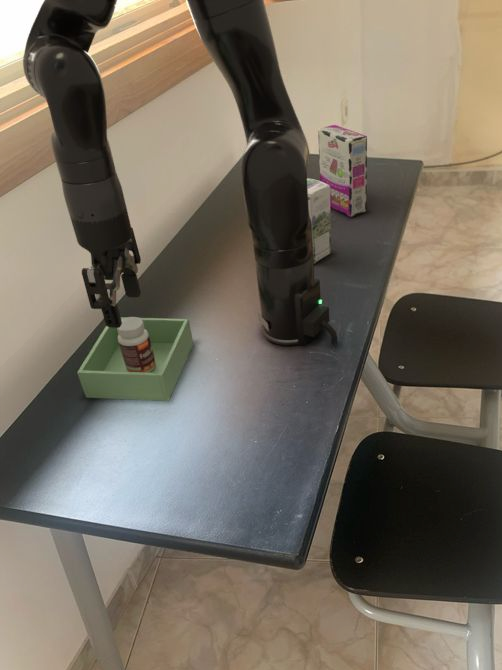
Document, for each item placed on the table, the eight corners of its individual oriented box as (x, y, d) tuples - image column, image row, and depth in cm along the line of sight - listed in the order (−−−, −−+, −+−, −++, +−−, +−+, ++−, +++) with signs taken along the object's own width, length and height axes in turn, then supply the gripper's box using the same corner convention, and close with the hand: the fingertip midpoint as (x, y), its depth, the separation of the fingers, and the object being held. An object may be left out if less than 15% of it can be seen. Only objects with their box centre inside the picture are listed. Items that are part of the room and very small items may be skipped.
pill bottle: (149, 377, 104) (137, 333, 99) (122, 375, 105) (108, 330, 100) (161, 359, 108) (150, 316, 102) (133, 357, 109) (121, 314, 103)
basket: (193, 343, 112) (188, 318, 108) (168, 400, 101) (162, 375, 97) (118, 341, 113) (111, 317, 110) (86, 397, 102) (76, 372, 99)
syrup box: (310, 246, 136) (306, 176, 126) (332, 254, 133) (330, 183, 124) (292, 257, 133) (286, 186, 123) (314, 265, 130) (310, 193, 120)
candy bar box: (368, 211, 147) (368, 135, 136) (350, 218, 145) (349, 141, 134) (336, 196, 154) (334, 123, 143) (319, 202, 152) (316, 128, 141)
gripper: (104, 232, 83) (133, 338, 94) (141, 186, 94) (162, 287, 105) (48, 230, 84) (82, 336, 95) (90, 185, 95) (117, 285, 105)
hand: (124, 310), depth 100 cm, fingers open, 8 cm apart
